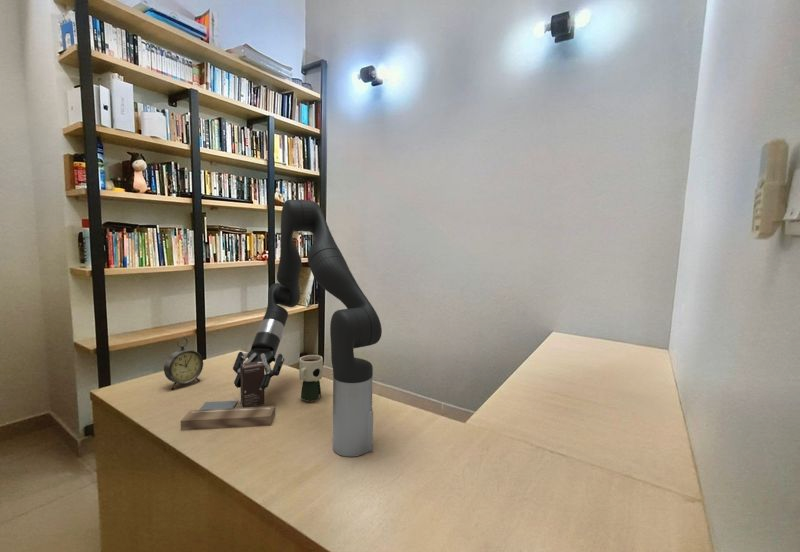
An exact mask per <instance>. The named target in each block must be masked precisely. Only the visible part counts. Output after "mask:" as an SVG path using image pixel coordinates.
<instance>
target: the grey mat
mask: <svg viewBox="0 0 800 552" xmlns="http://www.w3.org/2000/svg"><path fill="white" fill-rule="evenodd" d="M238 402H239V401H238V400H224V401H223V400H222V401H206V402H204V404H203V405H202V406H201V407H200V408H199V409H198V410H204V409H225V408H236V406H237V404H238Z"/></svg>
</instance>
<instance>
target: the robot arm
mask: <svg viewBox="0 0 800 552" xmlns="http://www.w3.org/2000/svg"><path fill="white" fill-rule="evenodd" d="M294 232H309V233H312V236H314V240H313V241H312V244H311V246H310V248H309V250H308V254H307V264H308V266H309V268H310V271H311V273H312V276H313V278H314V280H315V281H316V282H317V284H318V285H319V286H320V287H322V289H323V290H325V291H326V292H328V293H329V294H330V295H332V296H333V297H335V298H336V299H337V300H338V301H340V302H341V303H342V304H343V305H344V306H345V308H342V309H337V310H335V311H334V312H333V314H332V316H331V318H330V324H329V326H330V327H329V334H330V336H329V337H330V351H331V353H330V356H331V357H330V359H331V366H332V367H331V368H332V373H333V374H332V449H333V451H334V452H335V453H336V454H338V455H340V456H343V457H357V456H358V457H359V456H362V455H364V454H366V453H368V452H373V450H374V449H373V446H374V445H373V443H374V442H373V439H374V436H373V435H374V411H373V385H374V384H373V378H374V377H373V376H374V375H373V374H374V373H373V371H374V369H373V364H372V363H371V362H370V361H368V360H366V359H364V358H359V357H355V354H354V353H355V352H354V349H359V348H363V347H364V348H365V347H369V346H372V345H373V346H374V345H376V344H377V343H378V342H380V341H381V340H380V339H381V338H382V332H383V331H382V330H383V329H382V323H381V320H380V318H379V316H378V314H377V311H376V310H375V308H374V306H373V304H371V302H370V301H369V299H368V298H367V296H366V295H365V293H364V292H363V290H362V289H361V287H360V286H359V284H358V282H357V281H356V279H355V277H354V275H353V273H352V271H351V270H350V267H349V266H348V264H347V261H346V259H345V258H344V256H343V254H342V251H341V249H340V248H339V247H338V245H337V242H336V241H335V238H334V237H333V235H332V233H331V230H330V228H329V225H328V223H327V220H326V217H325V214H324V212H323V210H322V207H321V206H320V204H319V203H318V202H316V201H314V200H306V199H287V200H285V201H284V202H283V205H282V208H281V214H280V238H279V239H280V242H279V243H280V245H279V247H280V252H279V262H278V267H277V272H276V281H277V282H274V283H272V285H270V286H269V289H268V292H267V307H266V310H265V314H264V316H263V318H262V321H261V323H260V325H259V326H258V329H257V332H256V334H255V336H254V338H253V342H252V344H251V347H250V351H248V352H247V353H246V352H245V353H244V352H243V351H239V352H238V353H237V356H236V359H235V361H234V364H233V366H232V370H233V371H234V372H235V373H236V377H235V379H234V381H233V382H234V383H233V384H234V386H235V387H236V388H237V389H238V388H240V389H241V382H240V364H245V363H250V362H258V361H262V362H263V364H264V365H265V374H264V377H263V380H262V383H261V385H260V387H261V389H264V391H265V390H266V389H268V387H269V384H270V381H271V379H272V378H273V377H275V376H276V377H278V376H279V375H280V373H281V370H282V367H283V364H284V362H285V357H284V355H283V354H282V353H279V354H277V352H278V349H279V345H280V343H281V341H282V338H283V335H284V334H283V333H284V329H285V327H286V326H285V325H286V322H287V321H288V317H289V312H288V310H287V309H285V308H284V307H288V308H294V307H296V306H297V305H298V304H299V302H300V299H301V291H300V284H299V279H300V274H301V271H302V263H303V261H302V258H301V255H300V253H299V251H298V249H297V247H296V245H295V243H294V240H293V239H294V238H293V235H294ZM282 306H284V307H282ZM274 361H275V363H274V364H273V367H272V365H271V363H273V362H274Z"/></svg>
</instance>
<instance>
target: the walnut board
mask: <svg viewBox="0 0 800 552" xmlns="http://www.w3.org/2000/svg"><path fill="white" fill-rule="evenodd" d="M275 417H276V405H271V406H267V405H266V406H253V407H246V408H243V407H234V408H225V409H204V410H199V409H190V410H189V411H188V412H187V413H186V414H185V415H184V417H183V418H181V420H180V431H191V430H194V431H195V430H208V429H209V430H211V429H212V430H213V429H230V428H231V429H232V428H247V427H263V426H267V427H268V426H272V423H273V421H274V419H275Z"/></svg>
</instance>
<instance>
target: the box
mask: <svg viewBox="0 0 800 552" xmlns="http://www.w3.org/2000/svg"><path fill="white" fill-rule="evenodd" d="M264 374H265V375H266V372H265V365H264V364H263V362H262V361H258V362H250V363H245V364H244V363H243V364H240V382H241V387H240V405H241V408H246V407H259V406H262V405H265V390H264V389H261V387H260V385H261V383H262V380H263V377H264Z"/></svg>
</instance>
